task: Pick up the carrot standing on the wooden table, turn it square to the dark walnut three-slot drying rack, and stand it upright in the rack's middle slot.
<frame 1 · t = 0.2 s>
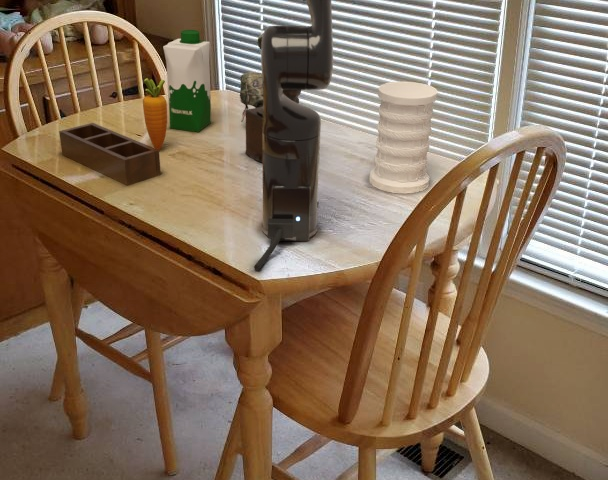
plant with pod: (261, 126, 184), on the table
pepper mill: (285, 161, 166), on the table
milk carton: (190, 126, 182), on the table
rack: (110, 164, 161), on the table
decorative container: (399, 182, 158), on the table
carrot: (158, 151, 169), on the table
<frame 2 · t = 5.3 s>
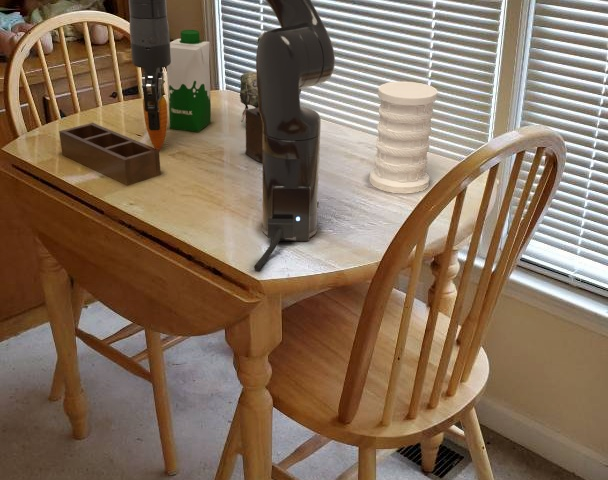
hand: (156, 125, 166), 5 cm above the table, tool pointing down, fingers closed on carrot, 5 cm apart
carrot: (158, 151, 169), on the table, touching gripper
everything else where it was.
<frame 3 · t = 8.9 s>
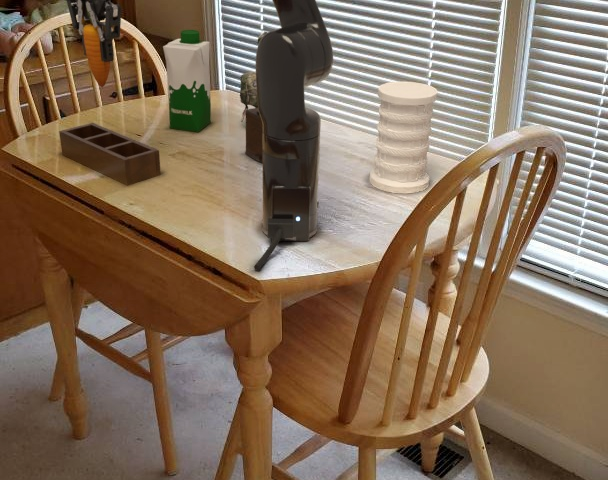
hand: (99, 58, 150), 21 cm above the table, tool pointing down, fingers closed on carrot, 5 cm apart
carrot: (102, 88, 153), point 15 cm above the table, touching gripper
everything else where it was.
when the fingers open (5 cm above the table, at t = 12.8 s): carrot stays where it is, resting in rack.
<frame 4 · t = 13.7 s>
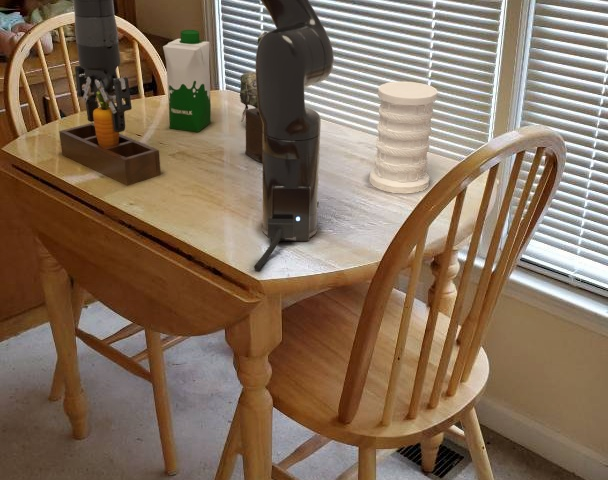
hand: (106, 126, 157), 8 cm above the table, tool pointing down, fingers open, 8 cm apart
carrot: (110, 165, 161), resting in rack
everything else where it was.
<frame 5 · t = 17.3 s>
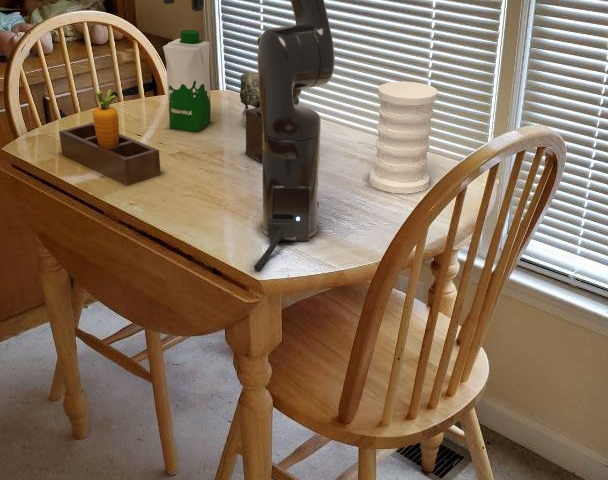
hand: (183, 6, 156), 28 cm above the table, tool pointing down, fingers open, 8 cm apart
nothing on the table moved.
at the end: carrot 0.1 cm off-centre in the rack, point 0.0 cm above the rack's base; carrot tilted 0°; the gripper is holding nothing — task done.
